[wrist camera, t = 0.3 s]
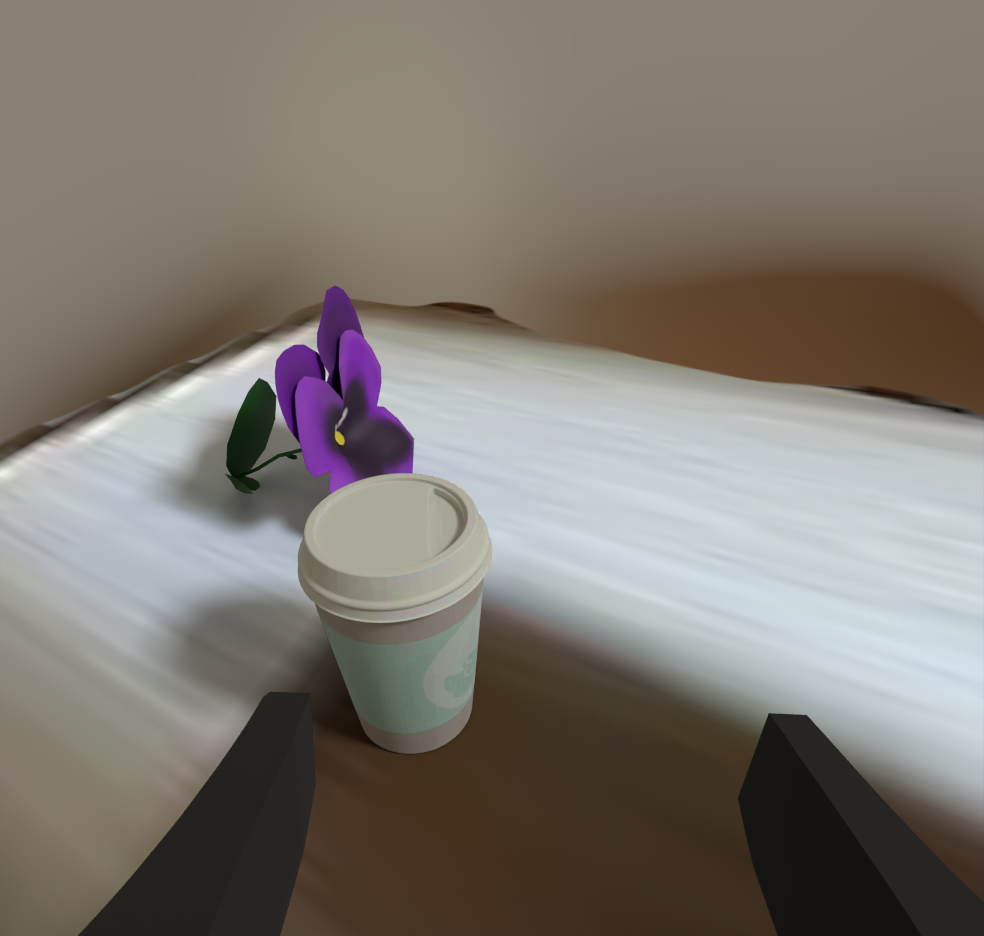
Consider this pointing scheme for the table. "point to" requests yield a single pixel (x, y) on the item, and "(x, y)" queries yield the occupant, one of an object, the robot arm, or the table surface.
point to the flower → (324, 408)
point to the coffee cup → (400, 602)
